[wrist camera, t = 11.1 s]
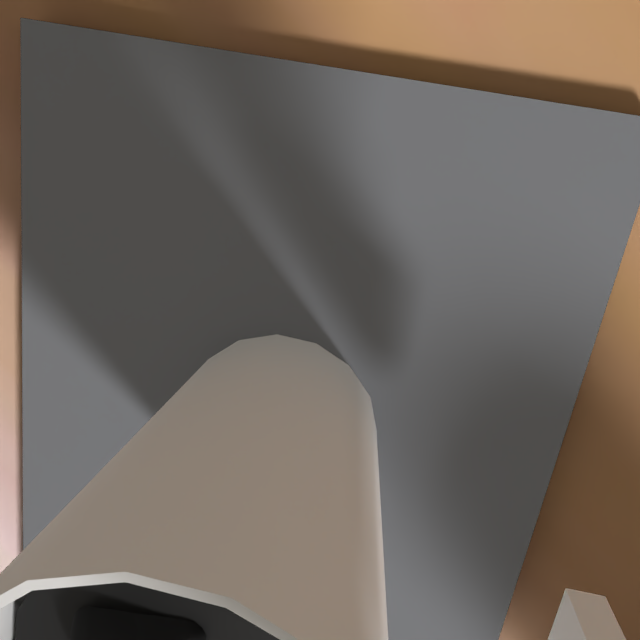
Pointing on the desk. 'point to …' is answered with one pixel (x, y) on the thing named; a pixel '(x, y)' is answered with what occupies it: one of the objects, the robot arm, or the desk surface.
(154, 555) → the white coffee cup
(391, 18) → the desk surface
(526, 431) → the charcoal mat
